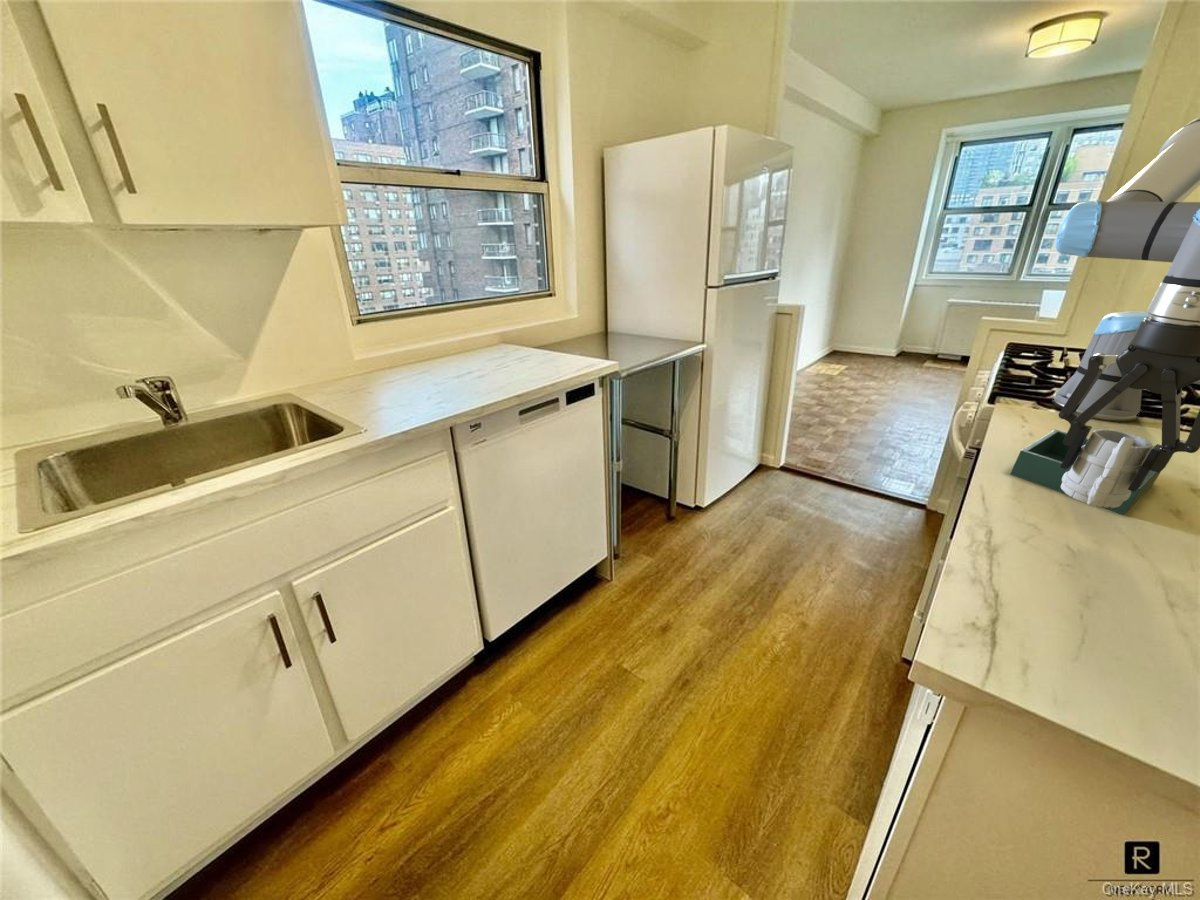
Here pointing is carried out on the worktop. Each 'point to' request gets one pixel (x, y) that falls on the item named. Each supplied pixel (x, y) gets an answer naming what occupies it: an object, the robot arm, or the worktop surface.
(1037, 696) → the worktop surface
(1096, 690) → the worktop surface
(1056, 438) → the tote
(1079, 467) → the mug
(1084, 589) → the worktop surface
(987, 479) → the worktop surface
